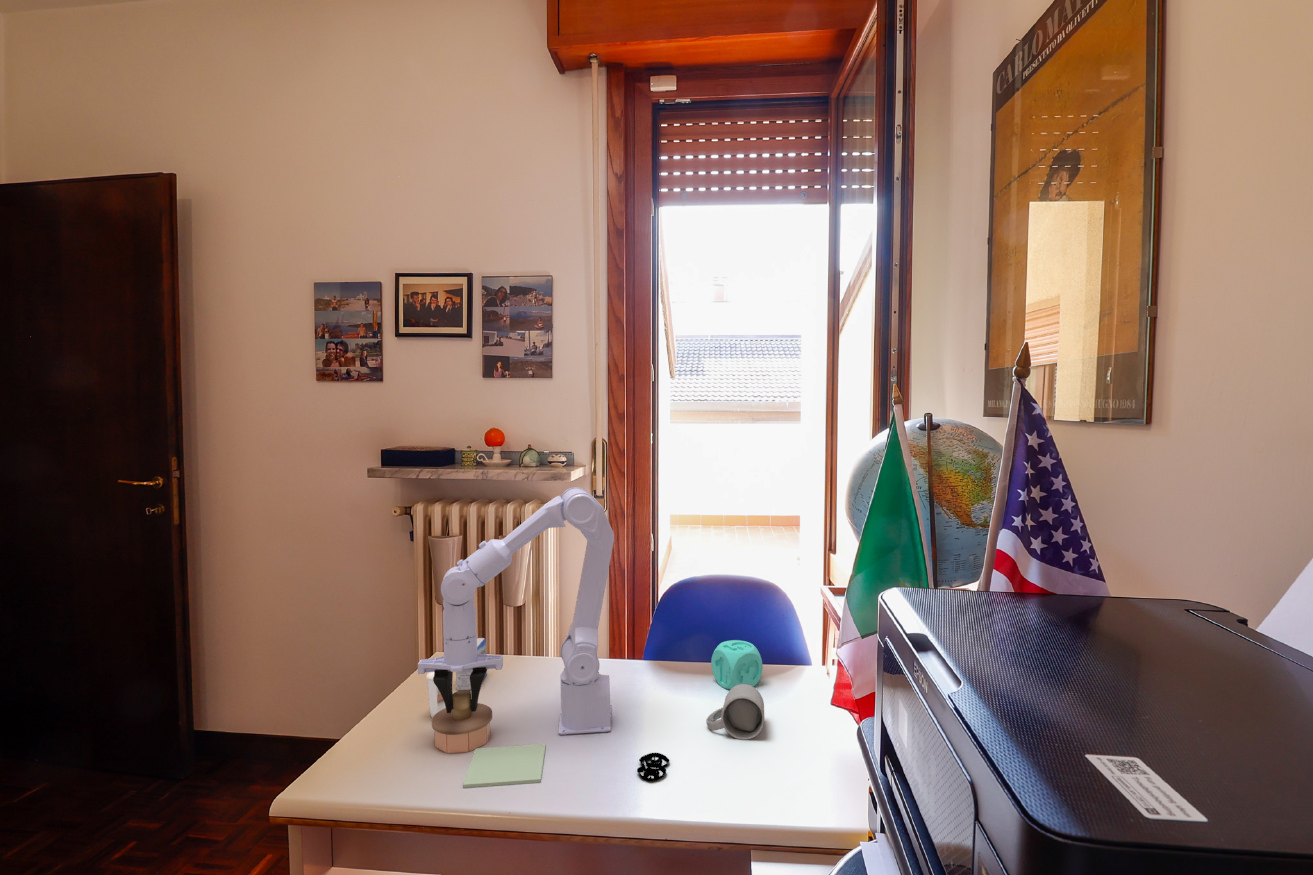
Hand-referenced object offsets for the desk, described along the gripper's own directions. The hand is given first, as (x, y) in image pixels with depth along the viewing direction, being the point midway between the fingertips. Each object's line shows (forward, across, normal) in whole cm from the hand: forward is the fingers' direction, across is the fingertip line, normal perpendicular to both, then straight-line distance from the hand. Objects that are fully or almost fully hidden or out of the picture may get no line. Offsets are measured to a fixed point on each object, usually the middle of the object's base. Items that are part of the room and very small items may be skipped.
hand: (462, 709), depth 115 cm
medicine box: (+6, -3, +25) cm, 26 cm away
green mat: (+5, +9, -10) cm, 14 cm away
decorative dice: (+6, +54, +17) cm, 57 cm away
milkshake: (+6, -6, +10) cm, 13 cm away
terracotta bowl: (+5, 0, 0) cm, 5 cm away
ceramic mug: (+6, +49, -3) cm, 50 cm away
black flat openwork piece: (+6, +33, -14) cm, 36 cm away
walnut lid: (+2, 0, 0) cm, 2 cm away
